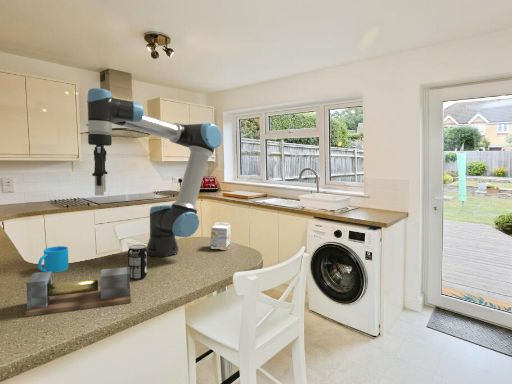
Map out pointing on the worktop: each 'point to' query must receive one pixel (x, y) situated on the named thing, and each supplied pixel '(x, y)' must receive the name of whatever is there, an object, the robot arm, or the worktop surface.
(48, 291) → the tube
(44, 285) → the rig
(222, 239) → the ink box
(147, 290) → the worktop surface
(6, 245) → the worktop surface
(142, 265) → the beverage can
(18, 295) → the worktop surface
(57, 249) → the mug
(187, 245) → the worktop surface
